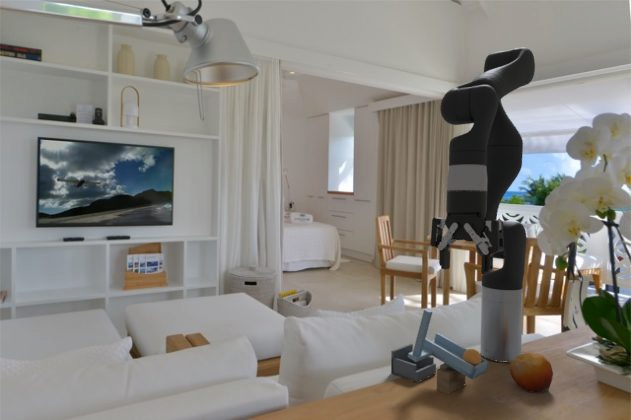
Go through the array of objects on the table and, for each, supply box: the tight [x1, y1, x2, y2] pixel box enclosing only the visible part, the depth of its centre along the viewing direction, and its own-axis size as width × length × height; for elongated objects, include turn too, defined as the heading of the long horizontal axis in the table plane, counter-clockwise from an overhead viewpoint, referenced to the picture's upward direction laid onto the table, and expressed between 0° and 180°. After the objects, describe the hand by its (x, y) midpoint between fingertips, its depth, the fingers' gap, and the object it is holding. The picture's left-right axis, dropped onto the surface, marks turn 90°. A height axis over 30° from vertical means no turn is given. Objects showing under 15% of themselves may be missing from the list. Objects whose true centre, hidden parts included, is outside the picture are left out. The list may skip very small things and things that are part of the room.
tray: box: [390, 343, 437, 383], centre depth 96 cm, size 7×7×5 cm
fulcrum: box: [436, 362, 467, 395], centre depth 89 cm, size 7×3×6 cm, turn 133°
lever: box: [408, 308, 490, 381], centre depth 86 cm, size 11×12×10 cm
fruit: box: [508, 352, 554, 393], centre depth 89 cm, size 8×8×8 cm
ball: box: [463, 348, 482, 366], centre depth 86 cm, size 4×4×4 cm
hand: (464, 271), depth 86 cm, fingers open, 8 cm apart
